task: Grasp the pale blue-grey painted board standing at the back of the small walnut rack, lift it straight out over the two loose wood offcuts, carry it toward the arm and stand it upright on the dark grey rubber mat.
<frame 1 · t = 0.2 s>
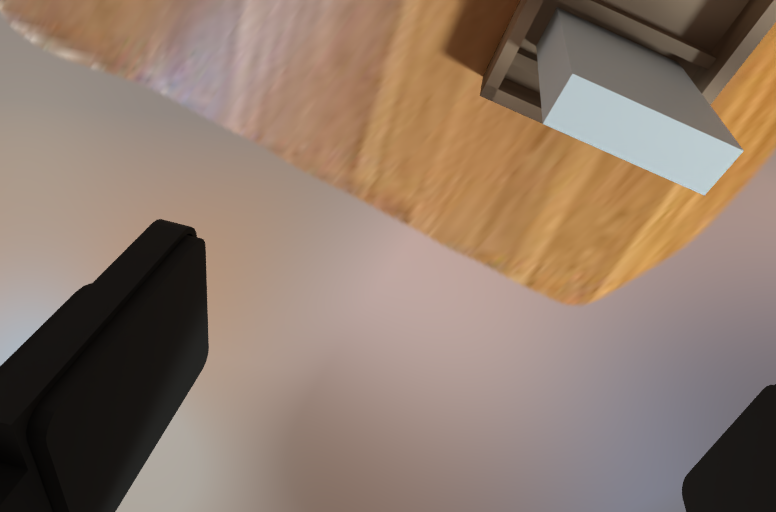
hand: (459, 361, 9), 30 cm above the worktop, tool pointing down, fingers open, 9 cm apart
rack: (634, 1, 32), on the worktop
board: (606, 54, 33), point 1 cm above the worktop, touching rack
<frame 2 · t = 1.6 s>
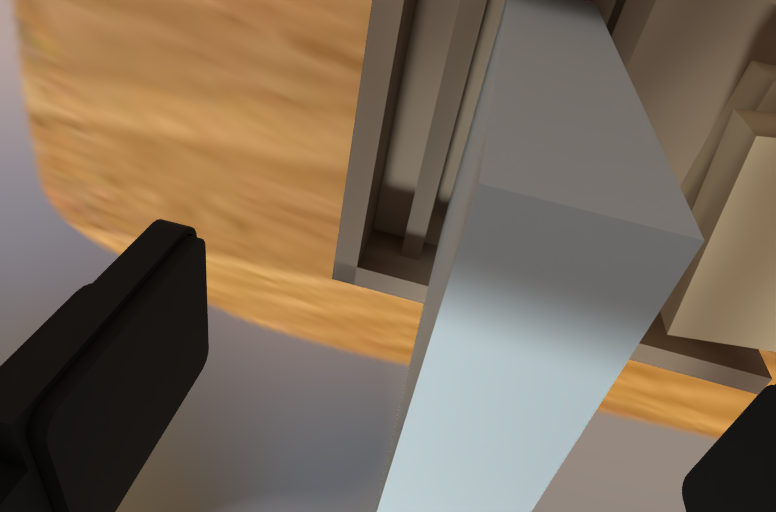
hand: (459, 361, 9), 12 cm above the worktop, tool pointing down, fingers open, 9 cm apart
offcut top: (754, 221, 16), point 3 cm above the worktop, touching offcut low
offcut low: (744, 184, 17), point 1 cm above the worktop, touching offcut top, rack
rack: (598, 136, 18), on the worktop
board: (509, 126, 18), point 1 cm above the worktop, touching rack
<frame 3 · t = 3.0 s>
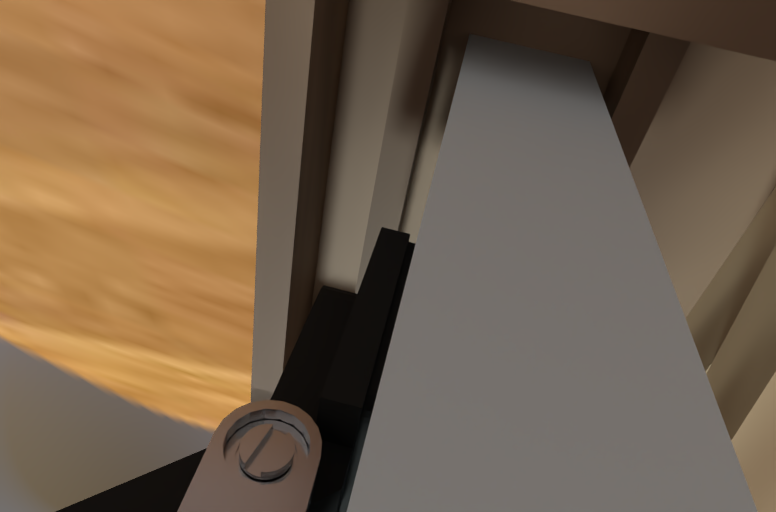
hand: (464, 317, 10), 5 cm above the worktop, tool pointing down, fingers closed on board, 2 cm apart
rack: (594, 224, 14), on the worktop
board: (475, 215, 13), point 1 cm above the worktop, touching gripper, rack
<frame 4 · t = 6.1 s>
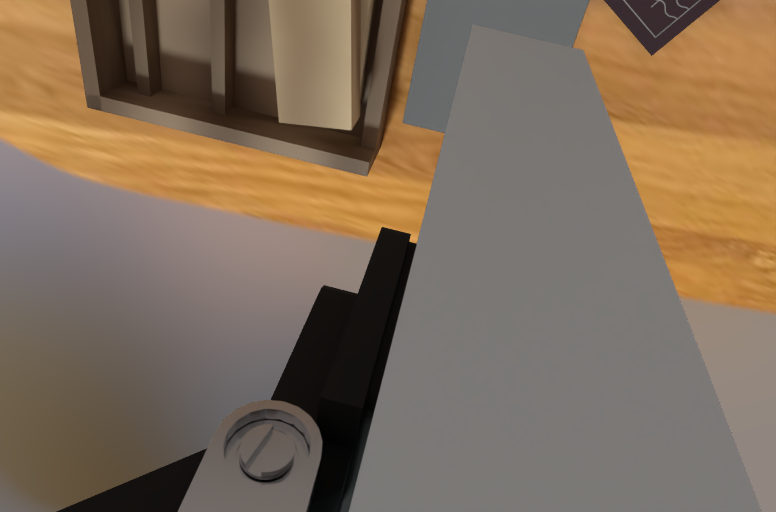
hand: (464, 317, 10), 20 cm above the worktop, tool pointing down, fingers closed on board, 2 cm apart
offcut top: (323, 45, 25), point 3 cm above the worktop, touching offcut low
offcut low: (336, 29, 27), point 1 cm above the worktop, touching offcut top, rack
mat: (495, 38, 27), on the worktop
rack: (254, 4, 28), on the worktop
board: (477, 197, 14), point 16 cm above the worktop, touching gripper
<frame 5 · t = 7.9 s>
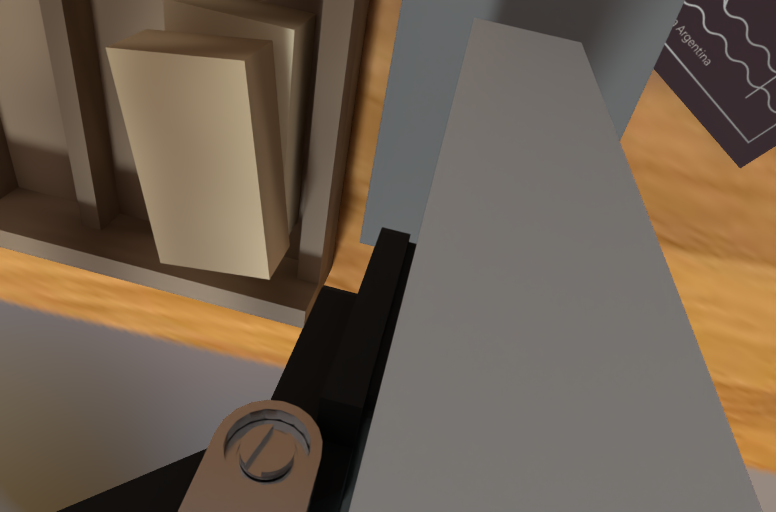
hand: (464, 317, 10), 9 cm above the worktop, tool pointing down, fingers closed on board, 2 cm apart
offcut top: (225, 148, 16), point 3 cm above the worktop, touching offcut low
offcut low: (252, 117, 18), point 1 cm above the worktop, touching offcut top, rack
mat: (494, 132, 17), on the worktop
rack: (135, 74, 19), on the worktop
board: (478, 186, 15), point 4 cm above the worktop, touching gripper
when the fingers open (5 cm above the worktop, at t = 9.0 s): board stays where it is, resting on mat.
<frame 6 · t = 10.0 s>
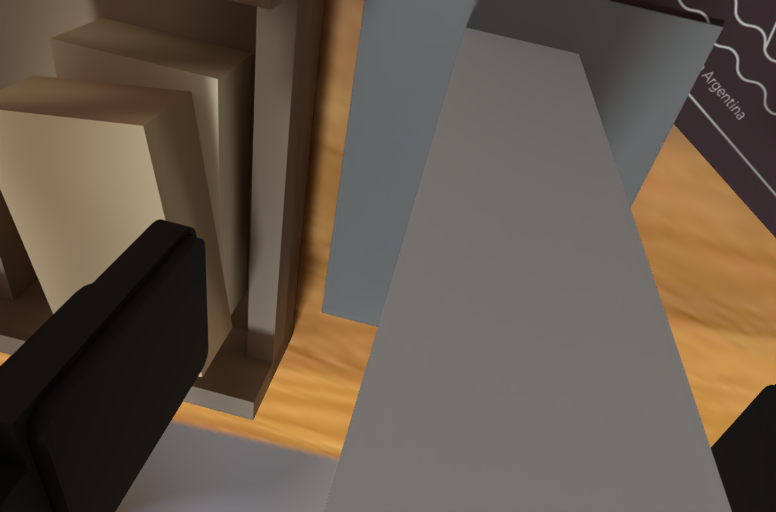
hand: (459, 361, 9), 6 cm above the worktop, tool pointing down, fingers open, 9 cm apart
offcut top: (145, 216, 13), point 3 cm above the worktop, touching offcut low
offcut low: (184, 172, 14), point 1 cm above the worktop, touching offcut top, rack
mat: (478, 190, 14), on the worktop
rack: (47, 118, 15), on the worktop
board: (471, 203, 14), point 1 cm above the worktop, touching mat
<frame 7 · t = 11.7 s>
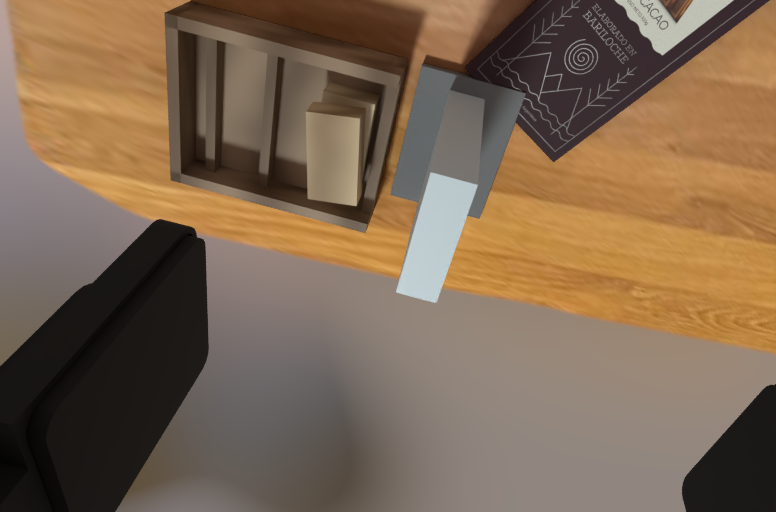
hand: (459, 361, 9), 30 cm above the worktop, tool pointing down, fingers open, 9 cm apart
offcut top: (338, 149, 38), point 3 cm above the worktop, touching offcut low
offcut low: (346, 135, 40), point 1 cm above the worktop, touching offcut top, rack
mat: (453, 144, 40), on the worktop
chocolate bar: (627, 11, 34), on the worktop
rack: (290, 113, 40), on the worktop
board: (450, 148, 39), point 1 cm above the worktop, touching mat
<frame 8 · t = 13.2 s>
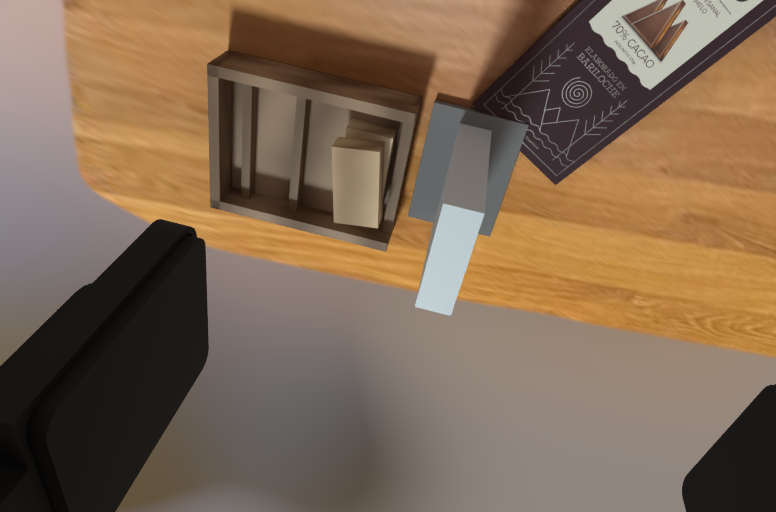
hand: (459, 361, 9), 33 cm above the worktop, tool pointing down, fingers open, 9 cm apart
offcut top: (361, 178, 43), point 3 cm above the worktop, touching offcut low
offcut low: (367, 164, 44), point 1 cm above the worktop, touching offcut top, rack
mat: (464, 170, 44), on the worktop
chocolate bar: (617, 51, 38), on the worktop
rack: (316, 145, 45), on the worktop
board: (462, 174, 43), point 1 cm above the worktop, touching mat
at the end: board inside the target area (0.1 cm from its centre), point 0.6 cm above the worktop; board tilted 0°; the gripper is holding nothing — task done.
